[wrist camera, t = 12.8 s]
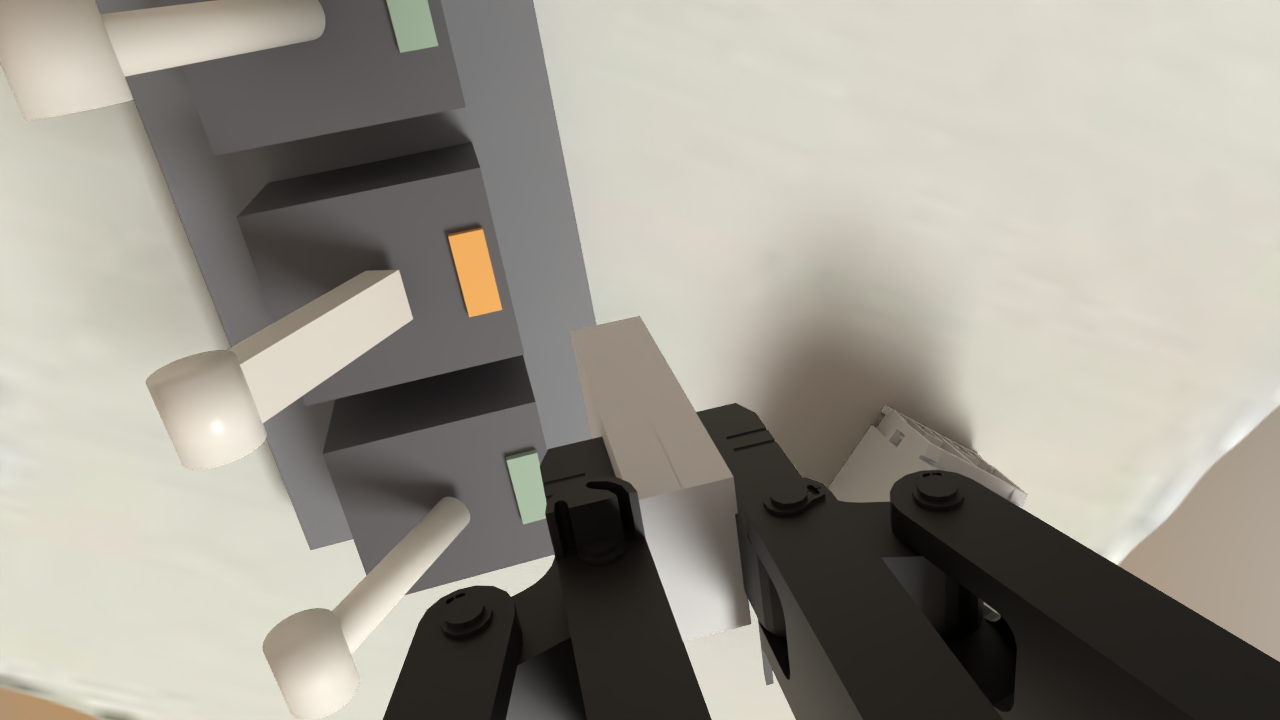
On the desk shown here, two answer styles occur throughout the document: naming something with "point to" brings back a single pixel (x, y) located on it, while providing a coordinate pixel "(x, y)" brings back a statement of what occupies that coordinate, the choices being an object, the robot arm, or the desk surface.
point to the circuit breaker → (911, 462)
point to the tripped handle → (272, 369)
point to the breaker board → (512, 197)
